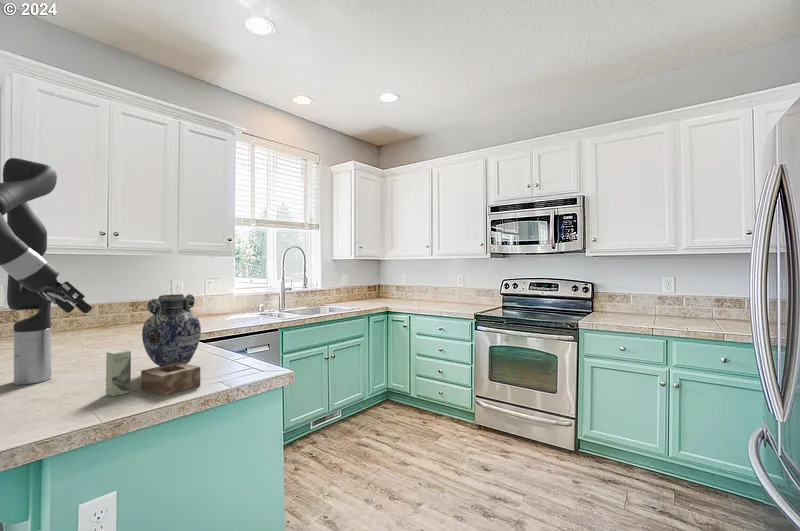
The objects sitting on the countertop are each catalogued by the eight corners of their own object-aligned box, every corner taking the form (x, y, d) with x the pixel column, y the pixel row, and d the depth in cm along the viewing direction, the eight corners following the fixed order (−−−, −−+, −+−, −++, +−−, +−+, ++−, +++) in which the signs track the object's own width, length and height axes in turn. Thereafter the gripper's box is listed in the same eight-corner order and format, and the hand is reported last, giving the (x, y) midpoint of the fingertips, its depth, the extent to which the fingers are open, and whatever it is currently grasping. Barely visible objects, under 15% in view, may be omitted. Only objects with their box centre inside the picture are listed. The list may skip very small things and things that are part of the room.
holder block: (162, 396, 118) (162, 376, 118) (141, 389, 124) (140, 370, 124) (200, 385, 128) (200, 367, 128) (178, 379, 134) (178, 362, 134)
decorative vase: (172, 380, 133) (171, 297, 133) (126, 378, 137) (124, 297, 137) (214, 365, 154) (213, 292, 154) (173, 363, 157) (172, 292, 157)
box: (112, 397, 117) (111, 353, 117) (105, 394, 120) (105, 352, 119) (131, 392, 122) (131, 350, 122) (125, 389, 124) (124, 348, 124)
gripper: (58, 258, 102) (105, 301, 111) (28, 260, 107) (76, 300, 117) (31, 278, 96) (83, 321, 106) (2, 279, 102) (54, 320, 112)
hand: (79, 310), depth 112 cm, fingers open, 8 cm apart
